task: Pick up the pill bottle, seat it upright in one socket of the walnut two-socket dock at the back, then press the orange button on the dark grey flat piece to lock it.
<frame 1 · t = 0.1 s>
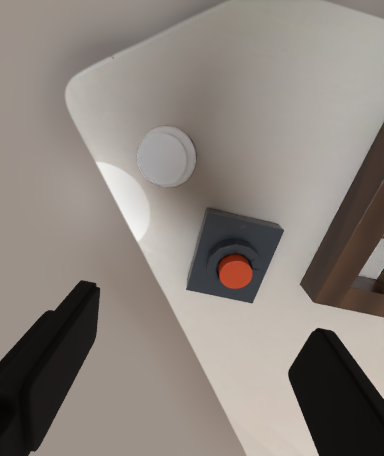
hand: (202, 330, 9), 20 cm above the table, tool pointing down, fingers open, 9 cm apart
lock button: (234, 271, 26), point 4 cm above the table, slide at 0.1 cm
pill bottle: (174, 154, 26), on the table
dark grey flat piece: (229, 254, 30), on the table
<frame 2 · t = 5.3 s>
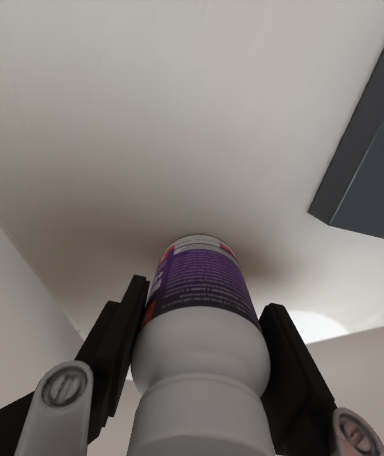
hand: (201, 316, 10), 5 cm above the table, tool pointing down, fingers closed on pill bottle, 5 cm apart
pill bottle: (198, 266, 15), on the table, touching gripper
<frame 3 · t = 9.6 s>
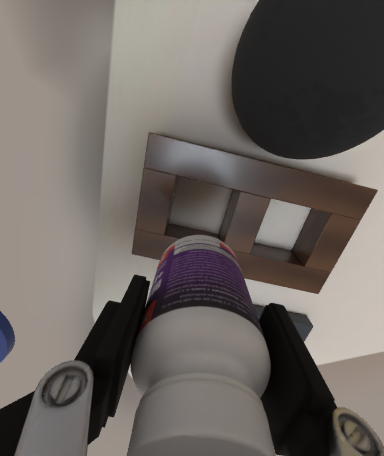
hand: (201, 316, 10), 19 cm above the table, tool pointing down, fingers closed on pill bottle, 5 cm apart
dock: (239, 213, 28), on the table
decorative egg: (278, 95, 23), on the table
pill bottle: (198, 267, 15), point 14 cm above the table, touching gripper
dark grey flat piece: (260, 330, 36), on the table
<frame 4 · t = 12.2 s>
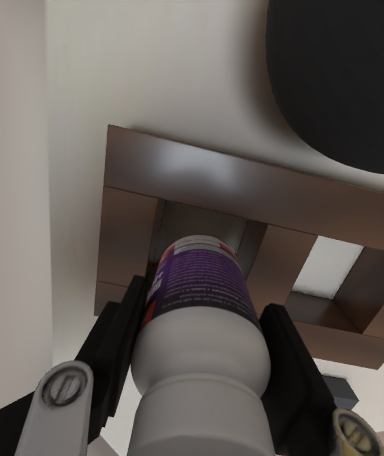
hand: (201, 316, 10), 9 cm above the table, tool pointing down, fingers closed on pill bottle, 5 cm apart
dock: (258, 249, 19), on the table
decorative egg: (330, 63, 14), on the table
pill bottle: (198, 267, 15), point 4 cm above the table, touching gripper
dark grey flat piece: (282, 396, 26), on the table
when the fingers open (5 cm above the table, at t = 14.2 s): pill bottle stays where it is, resting in dock.
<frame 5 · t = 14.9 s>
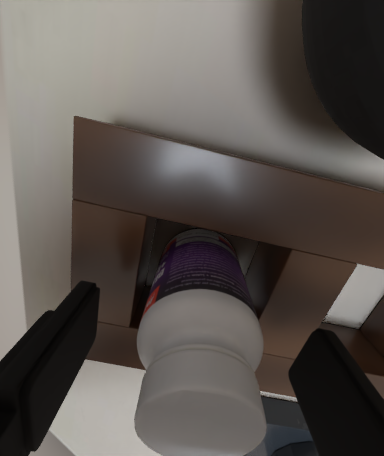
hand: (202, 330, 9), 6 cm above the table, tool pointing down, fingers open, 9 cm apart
dock: (272, 271, 15), on the table
decorative egg: (374, 36, 10), on the table
pill bottle: (198, 259, 15), resting in dock
dark grey flat piece: (294, 432, 23), on the table
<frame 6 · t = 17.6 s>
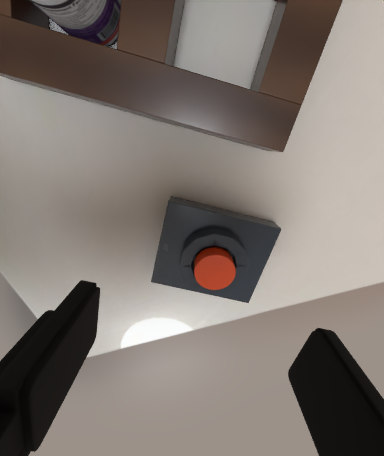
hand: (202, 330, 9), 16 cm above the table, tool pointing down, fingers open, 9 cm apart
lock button: (214, 268, 21), point 4 cm above the table, slide at 0.1 cm
dock: (159, 23, 17), on the table
pill bottle: (94, 12, 17), resting in dock
dark grey flat piece: (211, 247, 25), on the table
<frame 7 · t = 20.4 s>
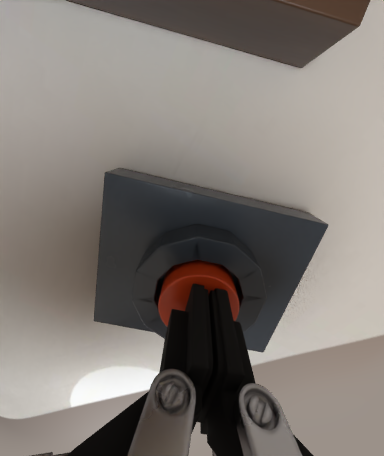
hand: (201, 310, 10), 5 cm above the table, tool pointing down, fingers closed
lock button: (198, 297, 11), point 4 cm above the table, slide at -0.5 cm, touching gripper
dark grey flat piece: (197, 259, 15), on the table
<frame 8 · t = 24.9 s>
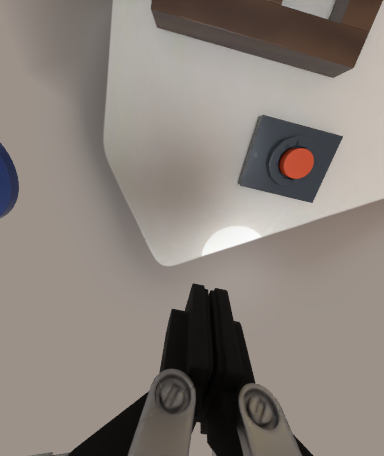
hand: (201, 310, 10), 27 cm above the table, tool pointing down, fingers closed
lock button: (296, 163, 29), point 4 cm above the table, slide at 0.1 cm
dark grey flat piece: (283, 161, 33), on the table
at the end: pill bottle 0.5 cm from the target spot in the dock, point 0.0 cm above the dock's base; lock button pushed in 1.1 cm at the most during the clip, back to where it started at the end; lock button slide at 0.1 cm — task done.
